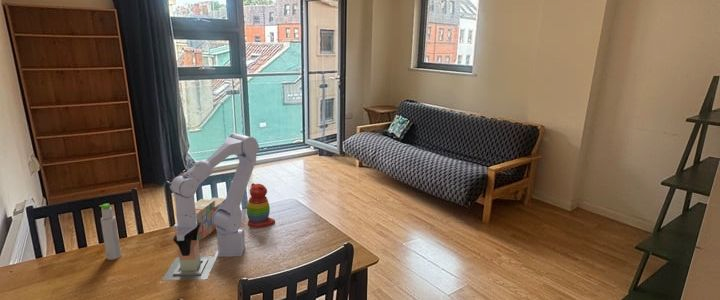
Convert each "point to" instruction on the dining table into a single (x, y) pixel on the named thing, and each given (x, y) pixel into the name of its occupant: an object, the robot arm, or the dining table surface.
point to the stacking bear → (258, 207)
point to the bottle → (110, 233)
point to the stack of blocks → (206, 215)
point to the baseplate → (200, 274)
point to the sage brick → (190, 264)
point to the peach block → (191, 251)
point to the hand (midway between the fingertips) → (189, 249)
